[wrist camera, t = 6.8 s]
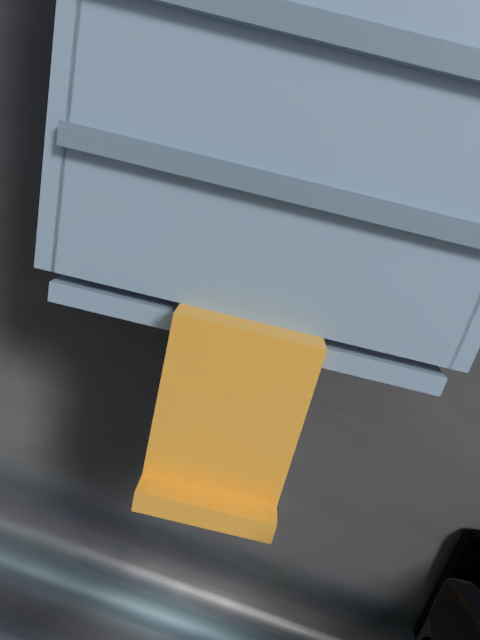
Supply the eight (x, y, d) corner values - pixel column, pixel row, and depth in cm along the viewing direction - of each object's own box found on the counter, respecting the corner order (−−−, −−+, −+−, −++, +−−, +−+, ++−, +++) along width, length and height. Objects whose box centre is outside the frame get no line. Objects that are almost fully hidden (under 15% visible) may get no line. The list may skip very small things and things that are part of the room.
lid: (383, 496, 14) (412, 578, 11) (45, 415, 14) (-12, 476, 11) (693, -249, 8) (902, -457, 6) (129, -396, 8) (57, -681, 5)
